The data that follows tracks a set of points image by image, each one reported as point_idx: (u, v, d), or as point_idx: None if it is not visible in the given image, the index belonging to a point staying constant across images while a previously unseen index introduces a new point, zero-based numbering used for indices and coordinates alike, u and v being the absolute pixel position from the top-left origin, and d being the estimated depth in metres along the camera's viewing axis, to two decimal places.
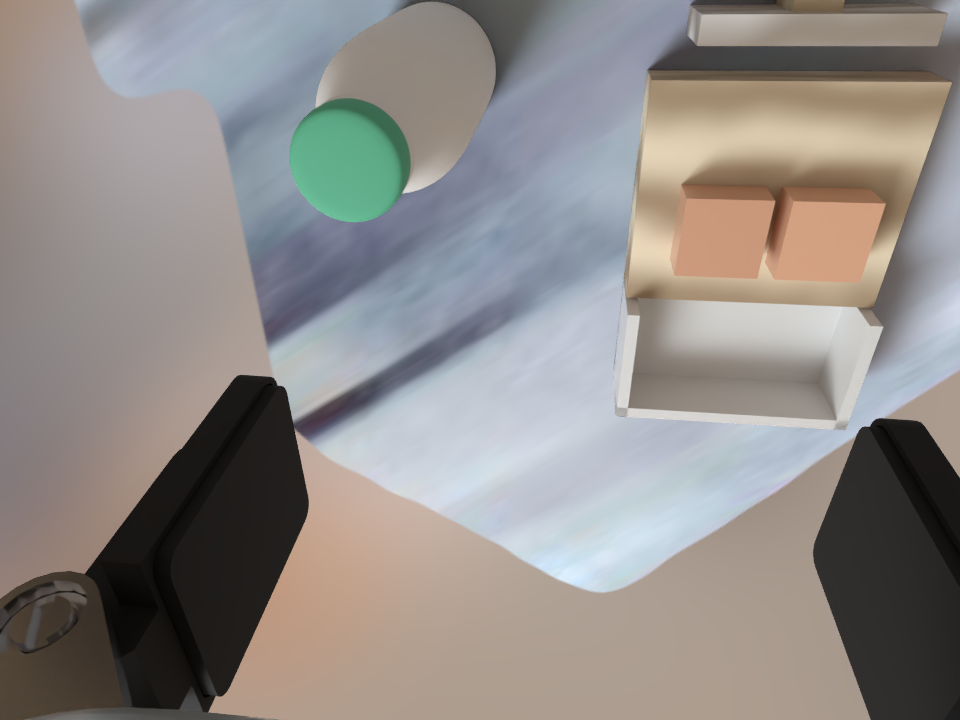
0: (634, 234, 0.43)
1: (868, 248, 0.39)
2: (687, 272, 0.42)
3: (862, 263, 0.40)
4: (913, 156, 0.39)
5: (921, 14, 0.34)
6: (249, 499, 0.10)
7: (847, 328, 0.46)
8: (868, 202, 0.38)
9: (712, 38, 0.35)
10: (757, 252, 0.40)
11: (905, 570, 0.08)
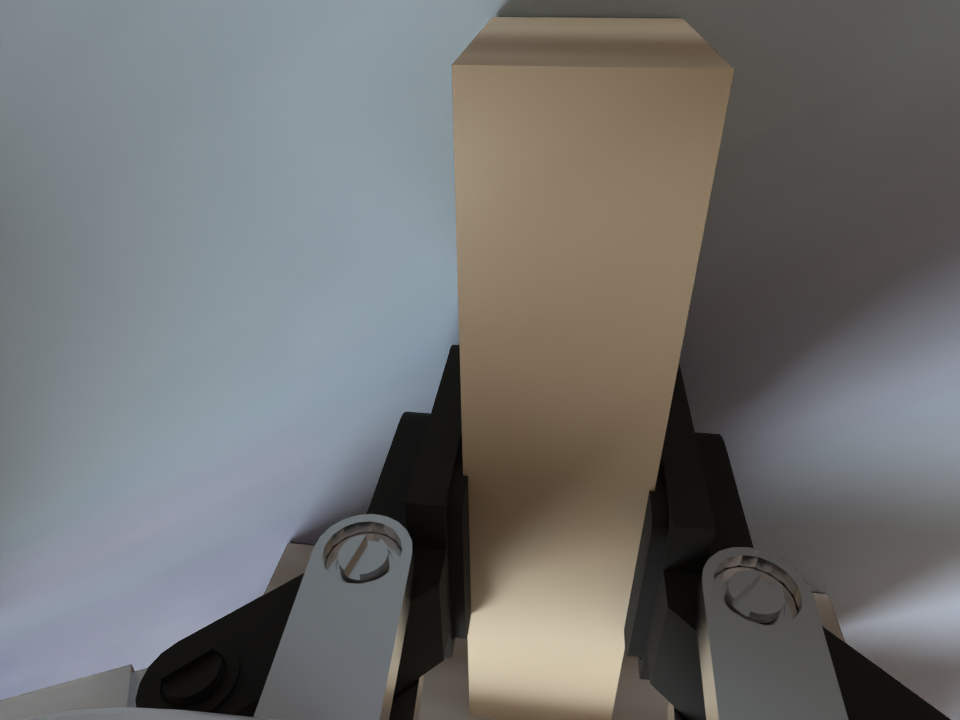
0: None
1: None
2: None
3: None
4: None
5: None
6: None
7: None
8: None
9: None
10: None
11: None
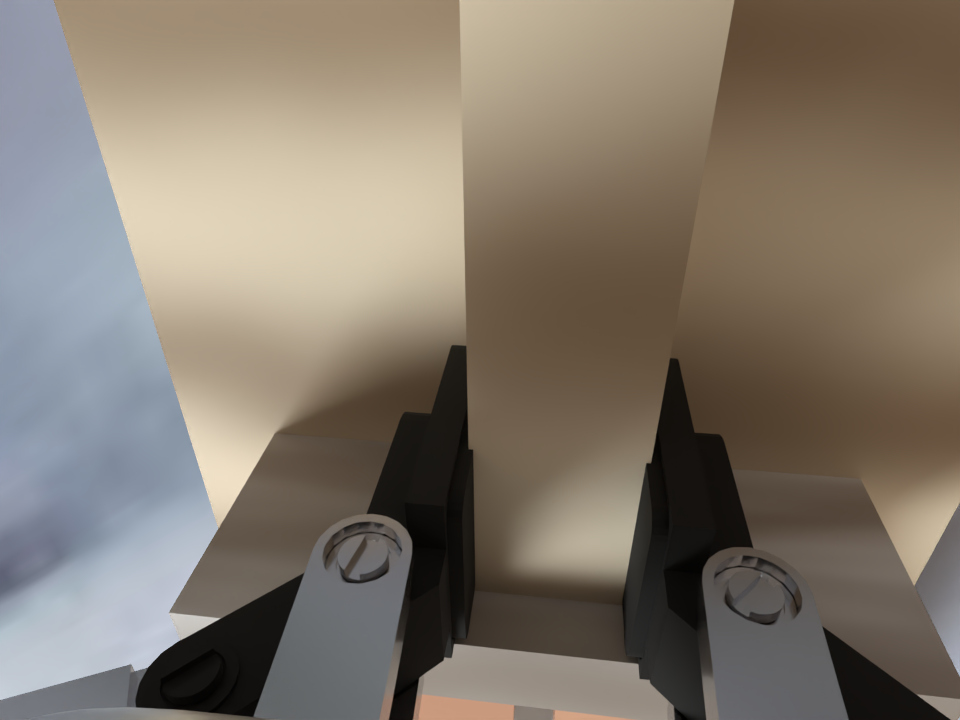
0: (195, 442, 0.15)
1: None
2: None
3: None
4: None
5: None
6: None
7: None
8: None
9: None
10: None
11: None
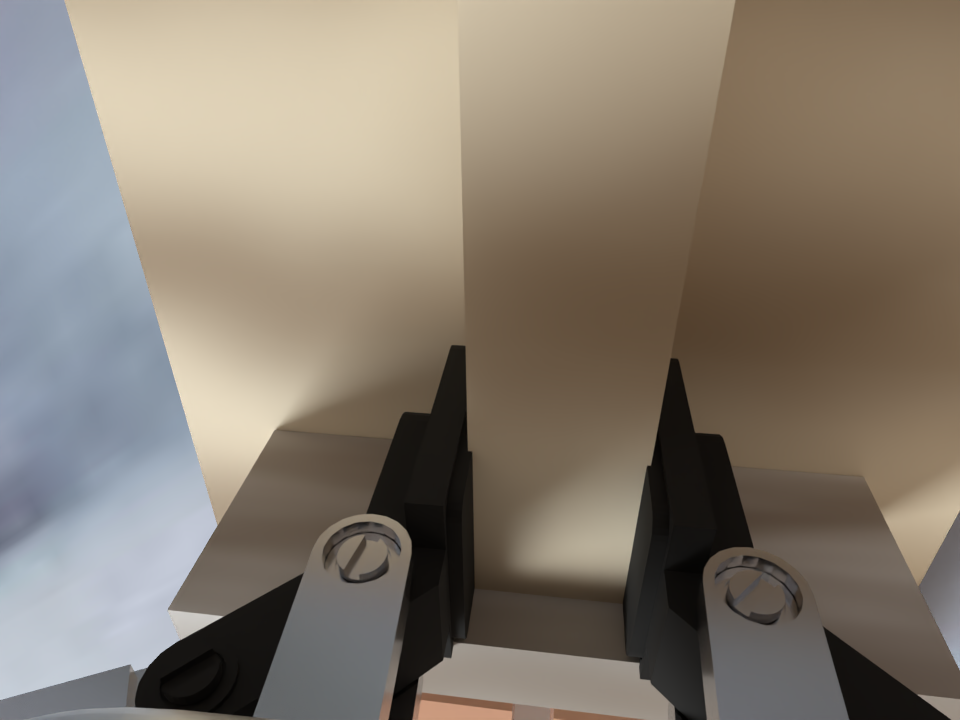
0: (176, 368, 0.14)
1: None
2: None
3: None
4: None
5: None
6: None
7: None
8: None
9: None
10: None
11: None
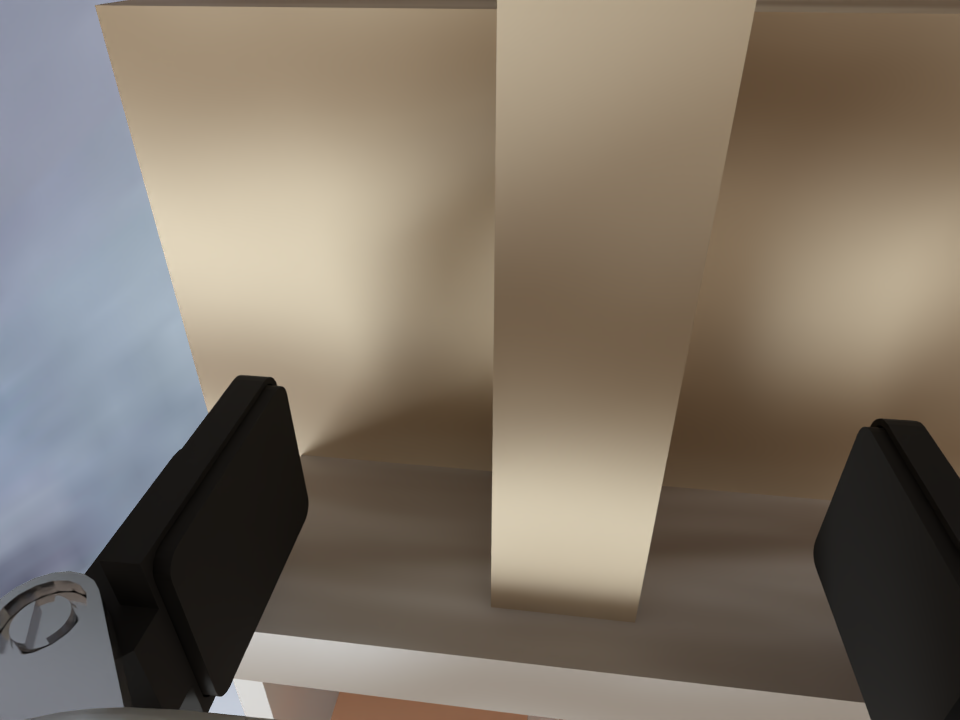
0: None
1: None
2: None
3: None
4: None
5: None
6: (249, 499, 0.10)
7: None
8: None
9: (261, 670, 0.12)
10: None
11: (905, 570, 0.09)
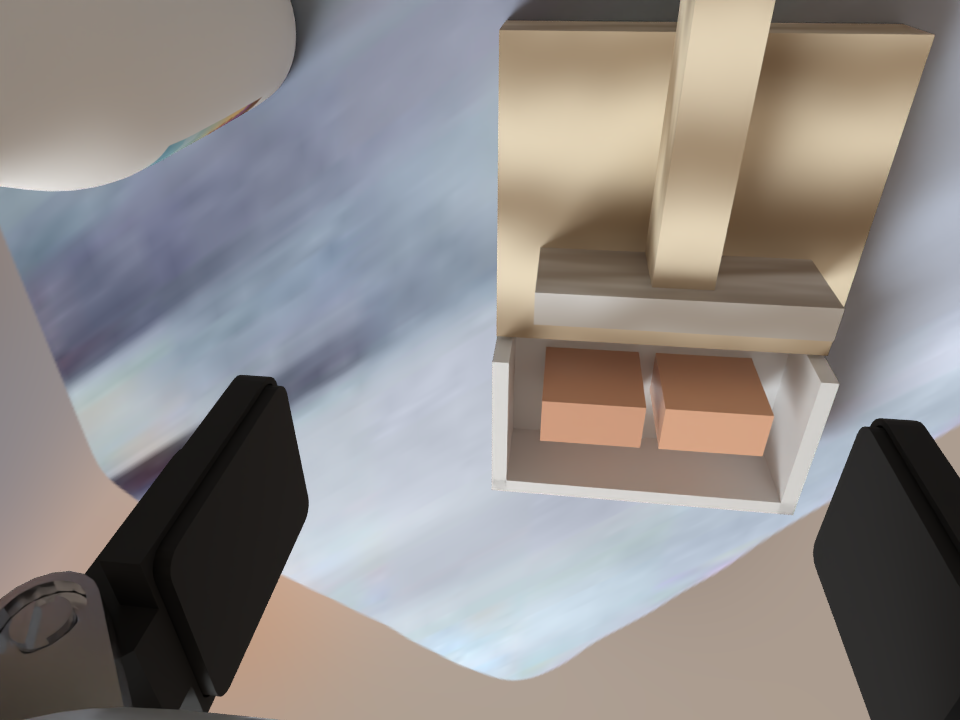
0: (498, 251, 0.31)
1: None
2: None
3: None
4: (879, 146, 0.27)
5: (810, 308, 0.26)
6: (249, 499, 0.10)
7: (795, 380, 0.34)
8: (744, 453, 0.33)
9: (551, 317, 0.28)
10: None
11: (905, 570, 0.09)
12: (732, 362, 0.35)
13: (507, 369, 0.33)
